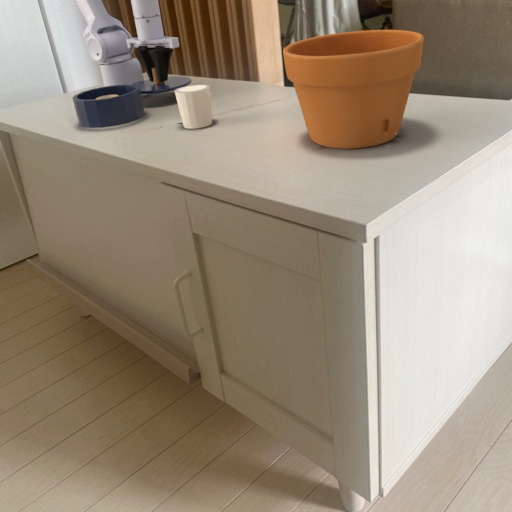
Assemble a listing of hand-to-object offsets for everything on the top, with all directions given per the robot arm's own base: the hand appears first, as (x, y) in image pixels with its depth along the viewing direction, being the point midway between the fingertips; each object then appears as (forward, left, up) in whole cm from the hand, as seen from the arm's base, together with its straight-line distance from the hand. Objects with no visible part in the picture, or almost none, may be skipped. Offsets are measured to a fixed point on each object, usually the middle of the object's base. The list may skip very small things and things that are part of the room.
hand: (159, 80), depth 123 cm
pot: (+14, +7, -5) cm, 16 cm away
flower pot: (-14, +53, -5) cm, 55 cm away
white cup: (+2, +25, -5) cm, 26 cm away
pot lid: (0, 0, -1) cm, 1 cm away
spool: (+14, +7, -4) cm, 16 cm away
